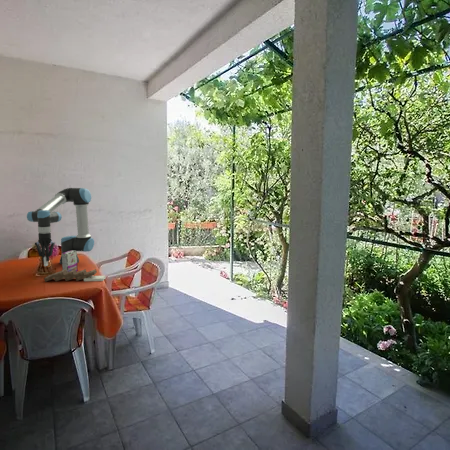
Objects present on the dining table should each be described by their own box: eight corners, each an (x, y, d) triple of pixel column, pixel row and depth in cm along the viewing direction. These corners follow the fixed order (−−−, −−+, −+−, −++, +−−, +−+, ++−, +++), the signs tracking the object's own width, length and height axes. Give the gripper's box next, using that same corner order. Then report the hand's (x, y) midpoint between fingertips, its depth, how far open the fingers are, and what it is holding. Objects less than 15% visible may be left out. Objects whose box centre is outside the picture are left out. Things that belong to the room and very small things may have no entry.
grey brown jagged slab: (64, 278, 219) (82, 271, 221) (67, 275, 226) (85, 269, 228) (65, 281, 220) (84, 274, 221) (69, 278, 226) (86, 272, 228)
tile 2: (53, 278, 218) (72, 271, 219) (57, 275, 225) (75, 269, 226) (55, 281, 218) (73, 274, 220) (58, 278, 225) (76, 272, 227)
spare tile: (83, 278, 221) (103, 278, 222) (86, 275, 228) (105, 275, 229) (83, 281, 221) (103, 281, 223) (86, 279, 228) (105, 278, 230)
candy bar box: (72, 270, 247) (71, 250, 245) (77, 271, 246) (77, 250, 244) (62, 274, 236) (61, 253, 234) (68, 274, 235) (67, 253, 233)
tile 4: (75, 278, 220) (93, 271, 221) (78, 275, 227) (95, 269, 228) (76, 281, 220) (94, 274, 222) (79, 278, 227) (96, 272, 229)
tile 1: (43, 278, 217) (62, 271, 218) (48, 275, 224) (65, 269, 225) (45, 281, 217) (63, 274, 219) (49, 278, 224) (67, 272, 225)
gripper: (31, 233, 213) (33, 267, 215) (52, 233, 214) (53, 267, 217) (37, 231, 220) (38, 264, 223) (56, 231, 222) (58, 264, 224)
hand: (46, 265), depth 220 cm, fingers closed
